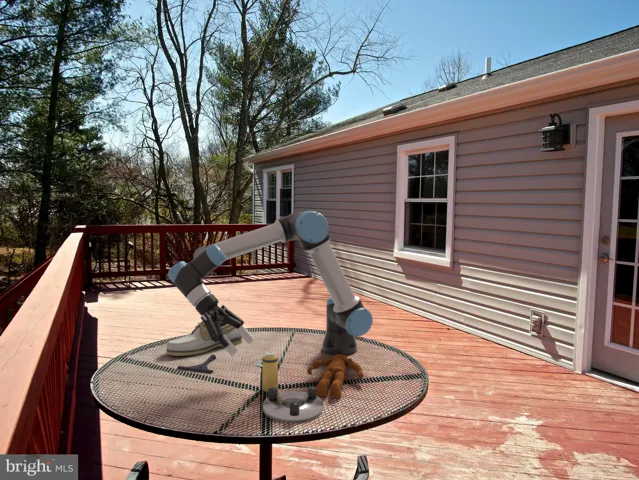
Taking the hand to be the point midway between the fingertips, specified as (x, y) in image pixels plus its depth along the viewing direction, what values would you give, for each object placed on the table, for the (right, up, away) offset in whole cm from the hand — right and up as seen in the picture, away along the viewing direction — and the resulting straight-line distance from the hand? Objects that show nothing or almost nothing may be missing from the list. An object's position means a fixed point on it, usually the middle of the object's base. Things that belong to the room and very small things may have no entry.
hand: (243, 347), depth 144 cm
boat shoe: (-23, -11, +41) cm, 49 cm away
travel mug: (+9, -14, -1) cm, 16 cm away
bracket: (-19, -13, +21) cm, 31 cm away
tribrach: (+18, -15, -15) cm, 27 cm away
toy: (+31, -14, +7) cm, 35 cm away
